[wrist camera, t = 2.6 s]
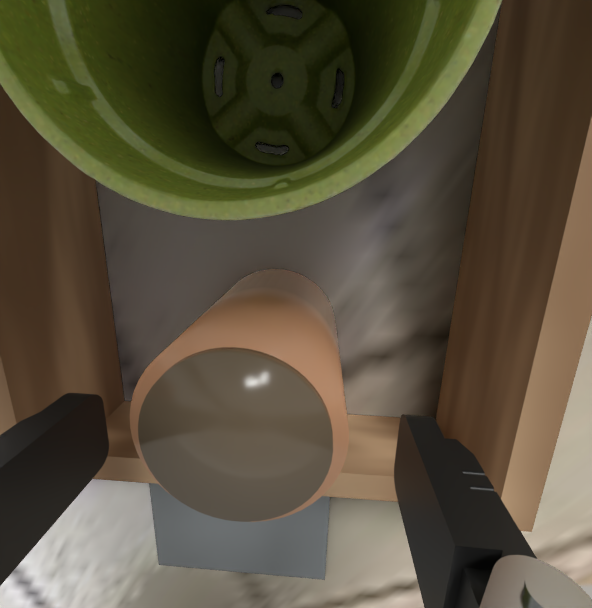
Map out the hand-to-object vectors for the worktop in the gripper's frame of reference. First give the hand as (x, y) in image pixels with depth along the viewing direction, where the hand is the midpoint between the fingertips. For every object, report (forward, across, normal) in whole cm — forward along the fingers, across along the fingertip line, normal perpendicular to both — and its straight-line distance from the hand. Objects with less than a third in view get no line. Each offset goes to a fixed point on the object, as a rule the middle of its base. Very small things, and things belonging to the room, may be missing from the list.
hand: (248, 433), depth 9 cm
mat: (+8, -2, -11) cm, 14 cm away
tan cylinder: (+8, 0, 0) cm, 8 cm away
